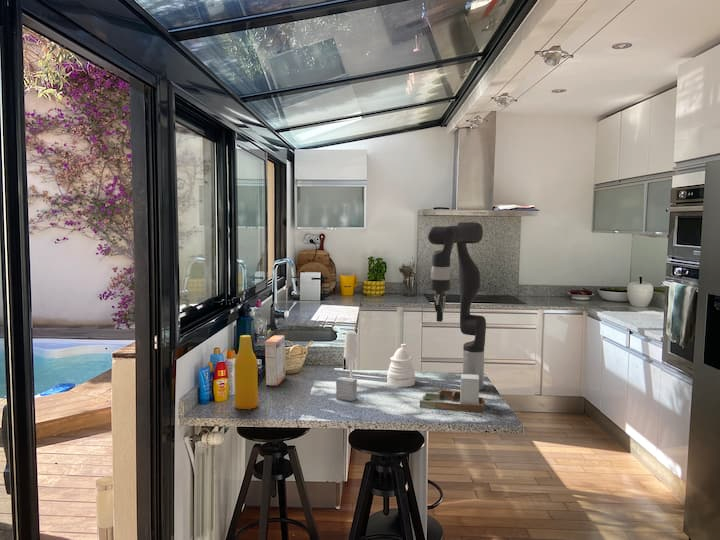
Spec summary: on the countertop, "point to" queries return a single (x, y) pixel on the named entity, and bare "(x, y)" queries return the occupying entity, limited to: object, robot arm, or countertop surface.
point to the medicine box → (346, 389)
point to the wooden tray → (451, 397)
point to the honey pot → (401, 369)
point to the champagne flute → (351, 349)
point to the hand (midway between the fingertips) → (439, 321)
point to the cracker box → (275, 360)
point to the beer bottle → (246, 375)
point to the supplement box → (469, 389)
